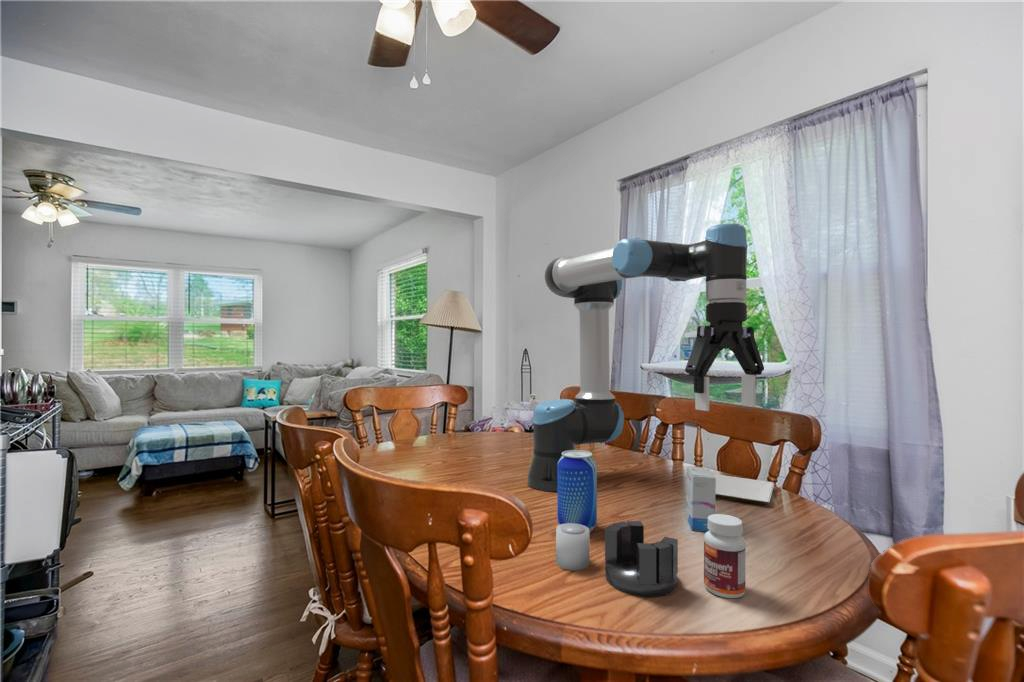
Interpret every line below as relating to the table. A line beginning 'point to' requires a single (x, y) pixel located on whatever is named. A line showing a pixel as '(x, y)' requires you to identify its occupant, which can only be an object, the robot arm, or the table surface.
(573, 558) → the cap
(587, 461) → the beer can
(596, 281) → the robot arm
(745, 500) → the plate
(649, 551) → the dark faceted crown
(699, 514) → the ink box
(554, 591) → the table surface
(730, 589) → the pill bottle
